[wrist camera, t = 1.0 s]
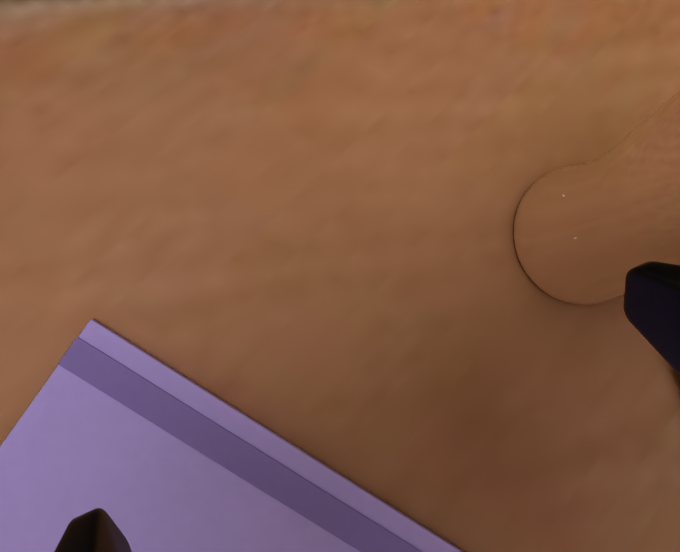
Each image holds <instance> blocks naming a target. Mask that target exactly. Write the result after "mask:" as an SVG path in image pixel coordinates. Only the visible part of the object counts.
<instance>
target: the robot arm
mask: <svg viewBox="0 0 680 552" xmlns="http://www.w3.org/2000/svg"><path fill="white" fill-rule="evenodd" d="M624 312H625V314H626V316H627V318H628V320H629V321H630V322H631V323H632V324H633V325H634V327H635V328H636V329H637V330H638V331H639V332H640V333H641V334H642V335H643V336H644V337H645V338H646V339H647V340H648V341H649V343H650V344H651V345H652V346H653V347H654V348H655V349H656V350H657V351H658V352H659V353H660V354H661V355H662V356H663V358H664V359H665V360H666V361H667V362H668V363H669V364H670V365H671V366H672V367H673V368H674V369H675V370H676V371H677V373H678V374H679V375H680V265H675V264H669V263H663V262H657V261H648V262H645V263H643V264H640V265H638V266H636V267H634V268H631V269H630V270H629V271H628V272H627V274H626V278H625V292H624ZM54 552H132V551H131V548H130V545H129V543H128V541H127V539H126V537H125V536H124V535H123V533H122V532H121V531H120V529H119V528H118V527H117V525H116V524H115V523H114V521H113V520H112V519H111V517H110V516H109V515H108V513H107V512H106V511H105V510H104V509H102V508H95V509H93V510H91V511H89V512H86V513H84V514H82V515H80V516H78V517H75V518H74V519H72V520H71V522H70V523H69V524H68V526H67V528H66V530H65V532H64V534H63V536H62V538H61V540H60V542H59V544H58V545H57V547H56V549H55V551H54Z"/></svg>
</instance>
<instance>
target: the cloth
mask: <svg viewBox="0 0 680 552" xmlns="http://www.w3.org/2000/svg"><path fill="white" fill-rule="evenodd" d="M95 508H102V509H104V510H105V511H106V512H107V513H108V515H109V516H110V517H111V519H112V520H113V521H114V523H115V524H116V525H117V527H118V528H119V529H120V531H121V532H122V533H123V535H124V536H125V537H126V539H127V541H128V543H129V545H130V548H131V551H132V552H463V551H462V550H460V549H458V548H457V547H455V546H454V545H452V544H450V543H449V542H447V541H446V540H444V539H442V538H441V537H439V536H438V535H436V534H434V533H433V532H431V531H430V530H428V529H427V528H425V527H423V526H422V525H420V524H419V523H417V522H415V521H414V520H412V519H411V518H409V517H407V516H406V515H404V514H403V513H401V512H399V511H398V510H396V509H395V508H393V507H392V506H390V505H388V504H387V503H385V502H384V501H382V500H380V499H379V498H377V497H376V496H374V495H372V494H371V493H369V492H368V491H366V490H364V489H363V488H361V487H360V486H358V485H357V484H355V483H353V482H352V481H350V480H349V479H347V478H345V477H344V476H342V475H341V474H339V473H337V472H336V471H334V470H333V469H331V468H329V467H328V466H326V465H325V464H323V463H322V462H320V461H318V460H317V459H315V458H314V457H312V456H310V455H309V454H307V453H306V452H304V451H302V450H301V449H299V448H298V447H296V446H294V445H293V444H291V443H290V442H288V441H287V440H285V439H283V438H282V437H280V436H279V435H277V434H275V433H274V432H272V431H271V430H269V429H267V428H266V427H264V426H263V425H261V424H259V423H258V422H256V421H255V420H253V419H252V418H250V417H248V416H247V415H245V414H244V413H242V412H240V411H239V410H237V409H236V408H234V407H232V406H231V405H229V404H228V403H226V402H224V401H223V400H221V399H220V398H218V397H217V396H215V395H213V394H212V393H210V392H209V391H207V390H205V389H204V388H202V387H201V386H199V385H197V384H196V383H194V382H193V381H191V380H189V379H188V378H186V377H185V376H183V375H182V374H180V373H178V372H177V371H175V370H174V369H172V368H170V367H169V366H167V365H166V364H164V363H162V362H161V361H159V360H158V359H156V358H154V357H153V356H151V355H150V354H148V353H147V352H145V351H143V350H142V349H140V348H139V347H137V346H135V345H134V344H132V343H131V342H129V341H127V340H126V339H124V338H123V337H121V336H119V335H118V334H116V333H115V332H113V331H112V330H110V329H108V328H107V327H105V326H104V325H102V324H100V323H99V322H97V321H96V320H92V319H91V320H90V321H89V322H88V324H87V325H86V327H85V328H84V329H83V331H82V332H81V334H80V335H79V336H78V337H77V338H76V339H75V340H74V342H73V343H72V345H71V346H70V347H69V349H68V350H67V352H66V353H65V355H64V356H63V357H62V359H61V360H60V362H59V363H58V366H57V367H56V369H55V370H54V372H53V373H52V374H51V376H50V377H49V379H48V380H47V381H46V383H45V384H44V386H43V387H42V388H41V390H40V391H39V393H38V394H37V395H36V397H35V398H34V400H33V401H32V402H31V404H30V405H29V407H28V408H27V410H26V411H25V412H24V414H23V415H22V417H21V418H20V419H19V421H18V422H17V424H16V425H15V426H14V428H13V429H12V431H11V432H10V433H9V435H8V436H7V438H6V439H5V440H4V442H3V443H2V445H1V446H0V552H54V551H55V549H56V547H57V545H58V544H59V542H60V540H61V538H62V536H63V534H64V532H65V530H66V528H67V526H68V524H69V523H70V522H71V520H72V519H74V518H75V517H78V516H80V515H82V514H84V513H86V512H89V511H91V510H93V509H95Z"/></svg>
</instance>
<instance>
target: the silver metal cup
mask: <svg viewBox="0 0 680 552" xmlns="http://www.w3.org/2000/svg"><path fill="white" fill-rule="evenodd" d="M514 243H515V248H516V252H517V255H518V258H519V261H520V263H521V265H522V267H523V269H524V270H525V272H526V273H527V275H528V276H529V277H530V279H531V280H532V281H533V282H534V283H535V284H536V285H537V286H538V287H539V288H540V289H541V290H543V291H544V292H545V293H547V294H548V295H550V296H552V297H554V298H556V299H558V300H561V301H564V302H567V303H572V304H580V305H586V304H595V303H600V302H604V301H607V300H610V299H613V298H615V297H618V296H620V295H623V294H624V292H625V278H626V274H627V272H628V271H629V270H630V269H631V268H634V267H636V266H638V265H640V264H643V263H645V262H648V261H657V262H663V263H669V264H675V265H680V92H678V93H677V94H676V95H674V96H673V97H672V98H670V99H669V100H668V101H666V102H665V103H664V104H663V105H661V106H660V107H659V108H658V109H657V110H656V111H654V112H653V113H652V114H651V115H650V116H649V117H647V118H646V119H645V120H644V121H643V122H642V123H641V124H639V125H638V126H637V127H636V128H635V129H634V130H633V131H631V132H630V133H629V134H628V135H627V136H626V137H625V138H624V139H622V140H621V141H620V142H619V143H618V144H617V145H616V146H614V147H613V148H612V149H611V150H610V151H608V152H607V153H606V154H605V155H603V156H602V157H600V158H598V159H596V160H594V161H592V162H588V163H582V164H577V165H572V166H567V167H563V168H560V169H557V170H554V171H552V172H550V173H548V174H546V175H544V176H543V177H541V178H540V179H539V180H537V181H536V182H535V183H534V184H533V185H532V186H531V187H530V188H529V189H528V191H527V192H526V193H525V195H524V196H523V198H522V200H521V202H520V204H519V206H518V209H517V212H516V216H515V221H514Z"/></svg>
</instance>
